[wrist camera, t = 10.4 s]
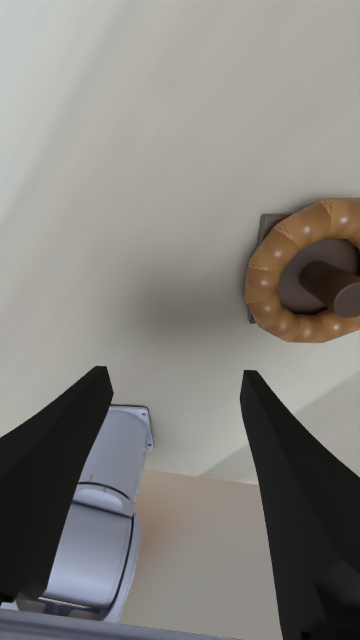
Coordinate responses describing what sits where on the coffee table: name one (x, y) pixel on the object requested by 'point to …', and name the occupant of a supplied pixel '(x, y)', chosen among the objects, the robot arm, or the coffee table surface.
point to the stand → (318, 276)
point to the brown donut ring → (279, 249)
